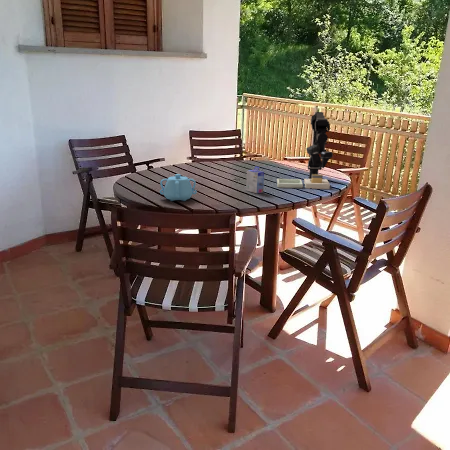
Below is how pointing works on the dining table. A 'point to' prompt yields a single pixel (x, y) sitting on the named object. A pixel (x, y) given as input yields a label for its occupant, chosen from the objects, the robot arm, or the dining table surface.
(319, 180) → the block
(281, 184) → the parts tray
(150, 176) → the dining table surface
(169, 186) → the decorative pot
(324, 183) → the white square frame
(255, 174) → the ink cartridge box
